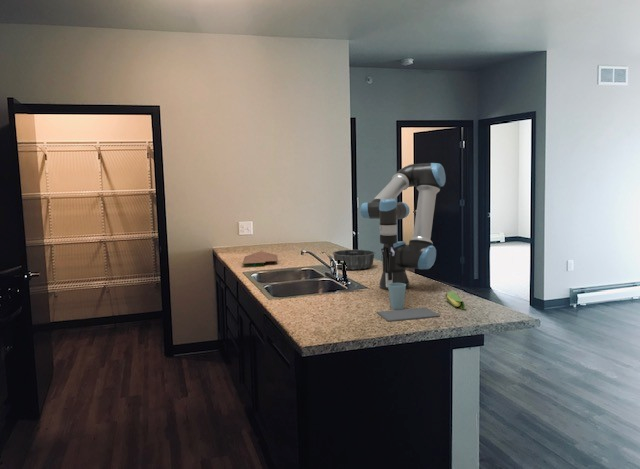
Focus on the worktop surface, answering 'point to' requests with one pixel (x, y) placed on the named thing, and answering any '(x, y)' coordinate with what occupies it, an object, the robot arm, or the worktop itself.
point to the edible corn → (455, 300)
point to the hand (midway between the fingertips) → (389, 286)
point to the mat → (407, 314)
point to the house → (260, 258)
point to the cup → (397, 295)
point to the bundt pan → (355, 258)
